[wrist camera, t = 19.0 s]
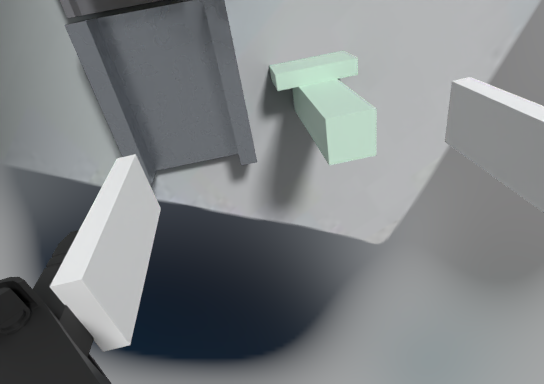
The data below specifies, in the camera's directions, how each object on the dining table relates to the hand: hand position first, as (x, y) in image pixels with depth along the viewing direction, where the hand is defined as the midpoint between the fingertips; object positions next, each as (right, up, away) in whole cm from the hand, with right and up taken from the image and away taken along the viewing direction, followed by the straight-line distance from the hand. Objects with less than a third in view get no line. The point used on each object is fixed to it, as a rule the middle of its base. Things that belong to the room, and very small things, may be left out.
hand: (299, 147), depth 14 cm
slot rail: (-12, +10, +27) cm, 31 cm away
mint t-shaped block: (+4, +11, +29) cm, 31 cm away
